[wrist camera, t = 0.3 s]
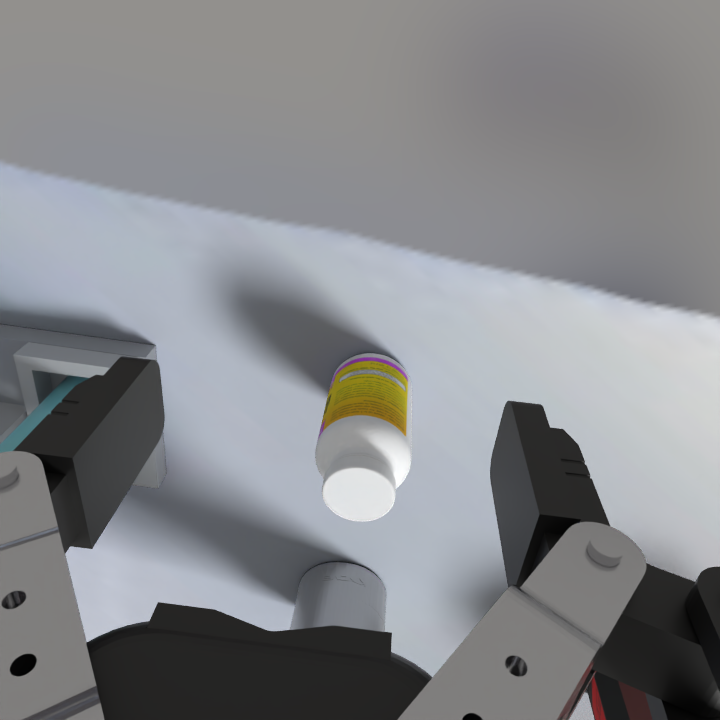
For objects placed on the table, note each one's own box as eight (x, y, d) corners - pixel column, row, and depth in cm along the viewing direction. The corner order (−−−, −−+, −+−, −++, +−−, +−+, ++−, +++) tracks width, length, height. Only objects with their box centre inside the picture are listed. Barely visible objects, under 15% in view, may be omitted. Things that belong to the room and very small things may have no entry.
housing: (166, 474, 54) (124, 548, 46) (-31, 446, 55) (-105, 516, 47) (155, 345, 47) (104, 408, 39) (-71, 314, 47) (-166, 371, 40)
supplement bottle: (324, 354, 46) (295, 458, 35) (406, 345, 45) (402, 449, 34) (340, 421, 49) (318, 535, 38) (417, 414, 48) (417, 529, 37)
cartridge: (126, 426, 49) (29, 559, 37) (64, 417, 49) (-53, 547, 37) (119, 372, 46) (13, 497, 34) (53, 363, 46) (-76, 485, 34)
